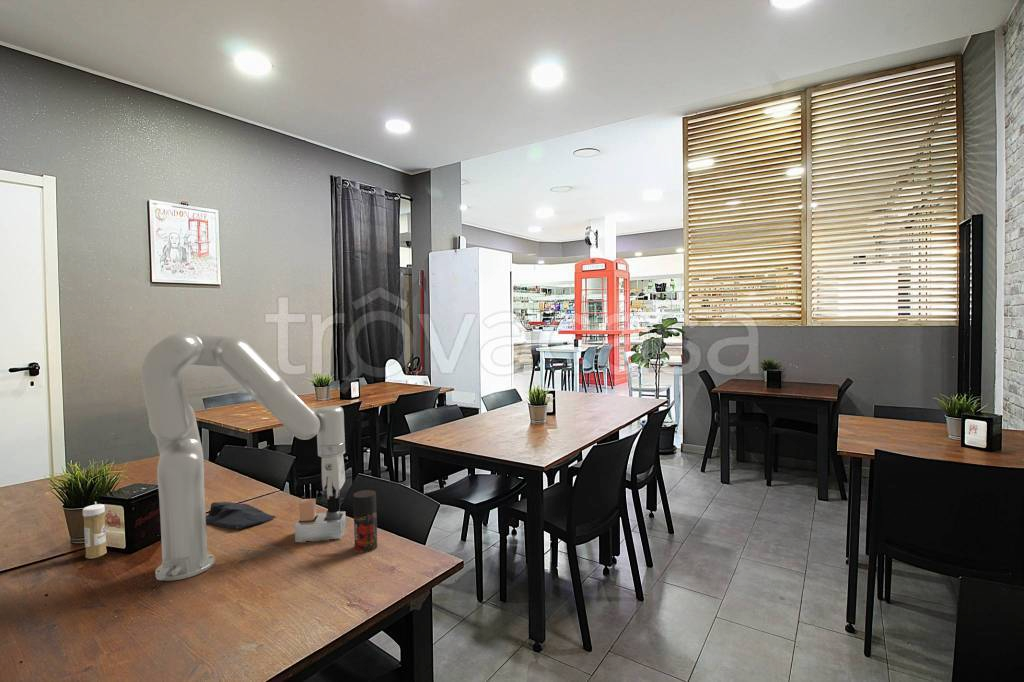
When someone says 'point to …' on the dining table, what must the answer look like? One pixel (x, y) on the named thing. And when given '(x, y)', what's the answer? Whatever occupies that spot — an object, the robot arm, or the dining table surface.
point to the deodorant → (365, 521)
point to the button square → (307, 509)
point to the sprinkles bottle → (94, 531)
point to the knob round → (333, 515)
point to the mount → (320, 528)
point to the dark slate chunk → (235, 515)
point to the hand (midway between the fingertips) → (334, 510)
